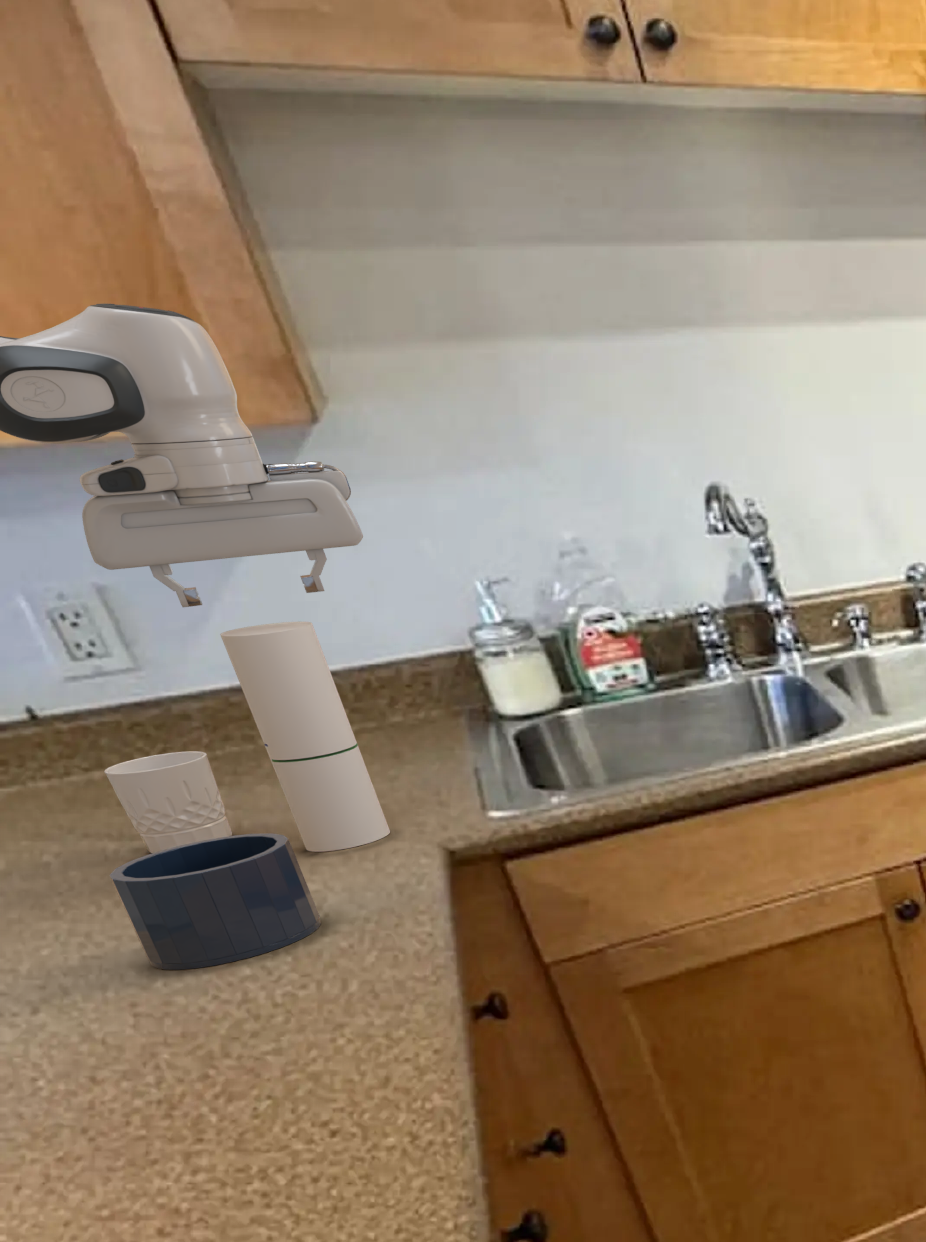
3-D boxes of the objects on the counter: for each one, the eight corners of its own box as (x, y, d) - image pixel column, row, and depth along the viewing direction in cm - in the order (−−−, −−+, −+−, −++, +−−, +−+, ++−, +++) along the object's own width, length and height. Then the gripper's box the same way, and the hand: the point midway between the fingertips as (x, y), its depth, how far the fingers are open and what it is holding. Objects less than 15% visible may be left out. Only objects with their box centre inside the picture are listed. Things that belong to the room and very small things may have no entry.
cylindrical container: (380, 824, 156) (303, 618, 148) (397, 836, 152) (319, 626, 144) (299, 843, 151) (213, 631, 142) (314, 856, 147) (227, 639, 139)
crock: (112, 971, 121) (70, 882, 118) (237, 917, 132) (202, 834, 129) (239, 968, 121) (200, 879, 118) (354, 914, 132) (321, 831, 129)
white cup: (165, 860, 147) (129, 776, 143) (125, 852, 149) (87, 769, 146) (255, 835, 154) (222, 754, 150) (215, 827, 156) (181, 748, 153)
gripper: (338, 457, 146) (382, 580, 151) (61, 476, 133) (119, 610, 137) (341, 461, 142) (386, 587, 147) (56, 480, 128) (116, 618, 133)
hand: (255, 598), depth 142 cm, fingers open, 8 cm apart
